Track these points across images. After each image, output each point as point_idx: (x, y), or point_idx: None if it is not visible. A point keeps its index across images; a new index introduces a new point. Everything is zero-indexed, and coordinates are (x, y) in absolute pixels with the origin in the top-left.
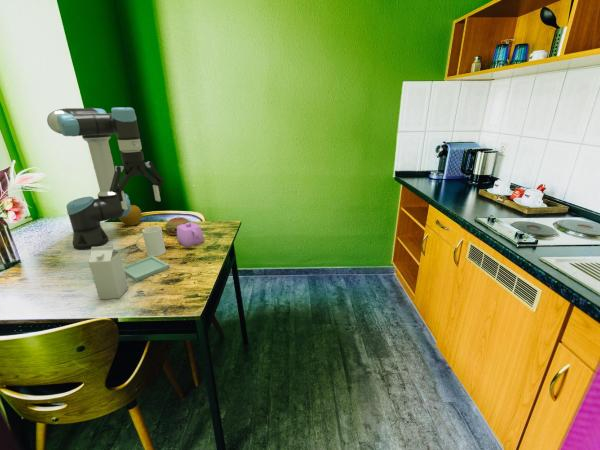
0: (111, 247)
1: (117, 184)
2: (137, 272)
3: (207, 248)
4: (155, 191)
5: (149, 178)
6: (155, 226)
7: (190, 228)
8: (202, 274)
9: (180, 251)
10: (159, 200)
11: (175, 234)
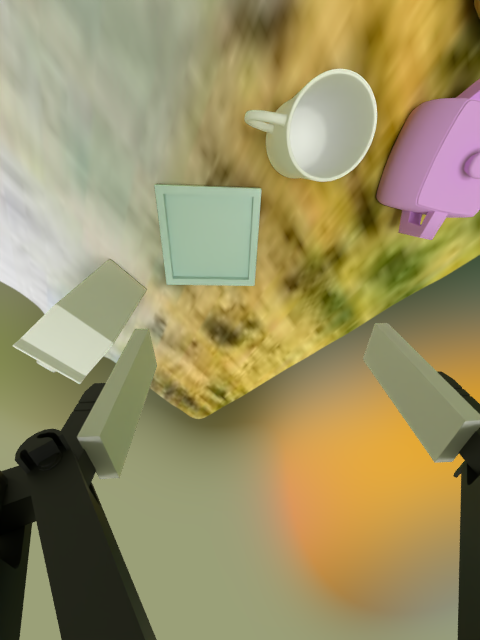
0: (78, 379)
1: (13, 614)
2: (185, 246)
3: (387, 261)
4: (410, 394)
5: (468, 573)
6: (370, 99)
7: (447, 198)
8: (274, 354)
9: (340, 210)
10: (369, 363)
11: (477, 9)
